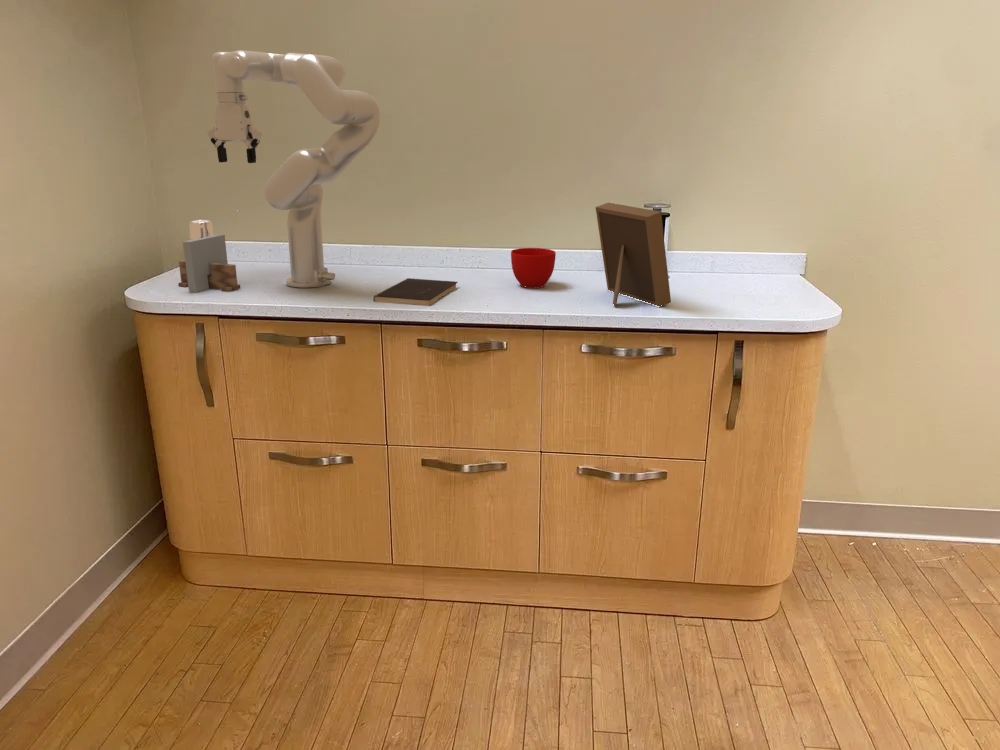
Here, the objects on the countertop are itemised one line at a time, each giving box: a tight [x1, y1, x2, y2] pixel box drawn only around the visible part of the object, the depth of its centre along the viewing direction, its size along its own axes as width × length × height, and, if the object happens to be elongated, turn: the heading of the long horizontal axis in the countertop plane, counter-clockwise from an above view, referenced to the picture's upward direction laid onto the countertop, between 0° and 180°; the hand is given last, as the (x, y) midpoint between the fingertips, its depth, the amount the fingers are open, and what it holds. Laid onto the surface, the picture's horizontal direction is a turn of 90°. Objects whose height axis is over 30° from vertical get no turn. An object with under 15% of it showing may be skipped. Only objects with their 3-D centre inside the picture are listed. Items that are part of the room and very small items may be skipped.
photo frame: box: [594, 202, 672, 307], centre depth 203 cm, size 15×22×25 cm
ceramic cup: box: [510, 247, 557, 288], centre depth 224 cm, size 13×17×10 cm
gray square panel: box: [182, 233, 229, 293], centre depth 215 cm, size 2×14×14 cm, turn 159°
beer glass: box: [188, 219, 215, 240], centre depth 240 cm, size 7×7×15 cm
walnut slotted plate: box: [178, 259, 242, 293], centre depth 216 cm, size 18×5×7 cm, turn 70°
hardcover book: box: [373, 277, 459, 307], centre depth 212 cm, size 16×23×2 cm
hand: (237, 162), depth 220 cm, fingers open, 9 cm apart
